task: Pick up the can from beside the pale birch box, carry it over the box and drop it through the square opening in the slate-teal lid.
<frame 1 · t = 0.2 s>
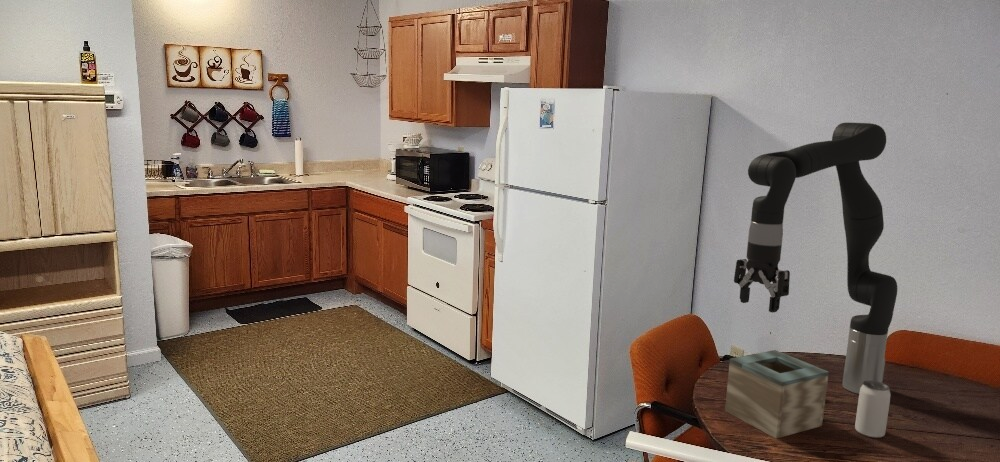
hand: (758, 307, 165), 29 cm above the table, fingers open, 8 cm apart
drop box: (772, 418, 171), on the table
can: (869, 432, 165), on the table
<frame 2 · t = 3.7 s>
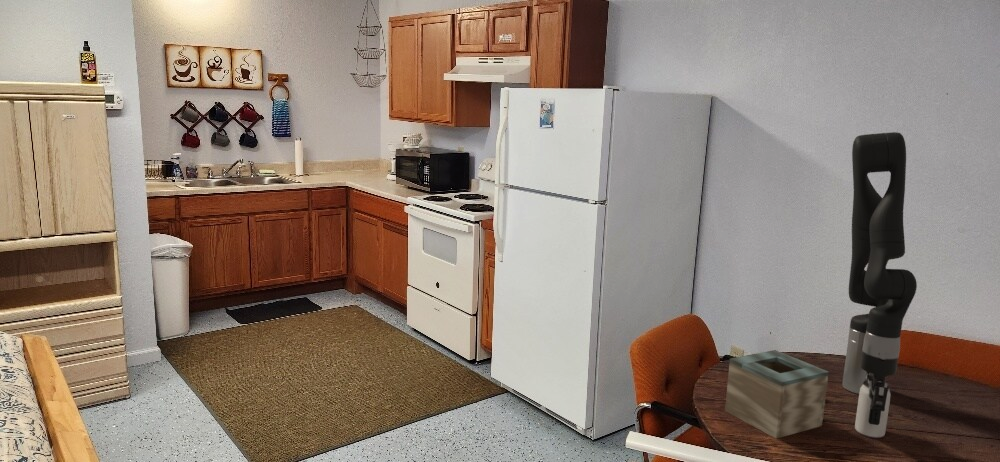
hand: (871, 417, 164), 4 cm above the table, fingers closed on can, 6 cm apart
can: (869, 432, 165), on the table, touching gripper
everything else where it was.
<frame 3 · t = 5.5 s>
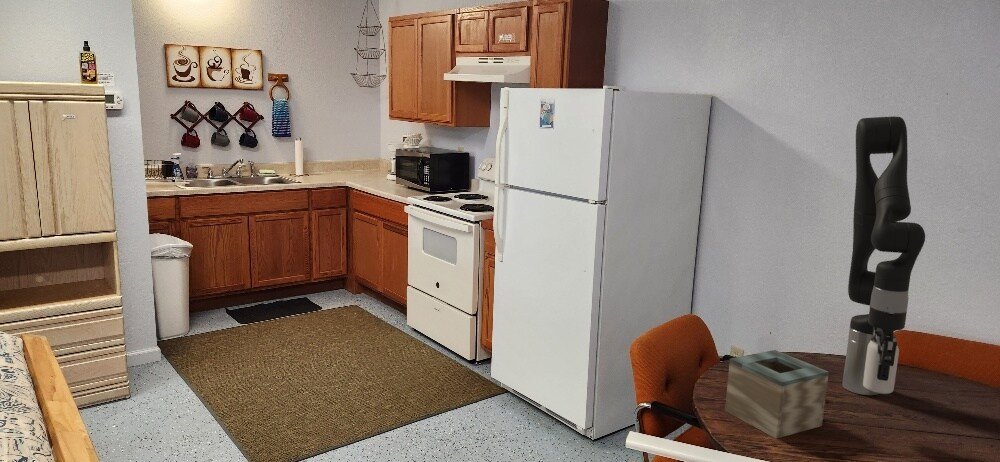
hand: (879, 373, 162), 15 cm above the table, fingers closed on can, 6 cm apart
can: (877, 389, 163), point 11 cm above the table, touching gripper
everything else where it was.
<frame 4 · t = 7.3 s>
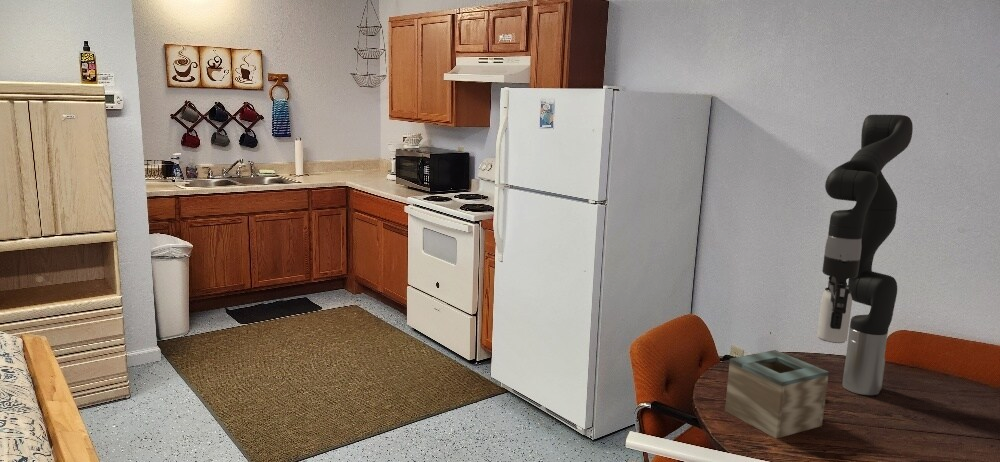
hand: (833, 324, 163), 26 cm above the table, fingers closed on can, 6 cm apart
can: (831, 339, 163), point 22 cm above the table, touching gripper
everything else where it was.
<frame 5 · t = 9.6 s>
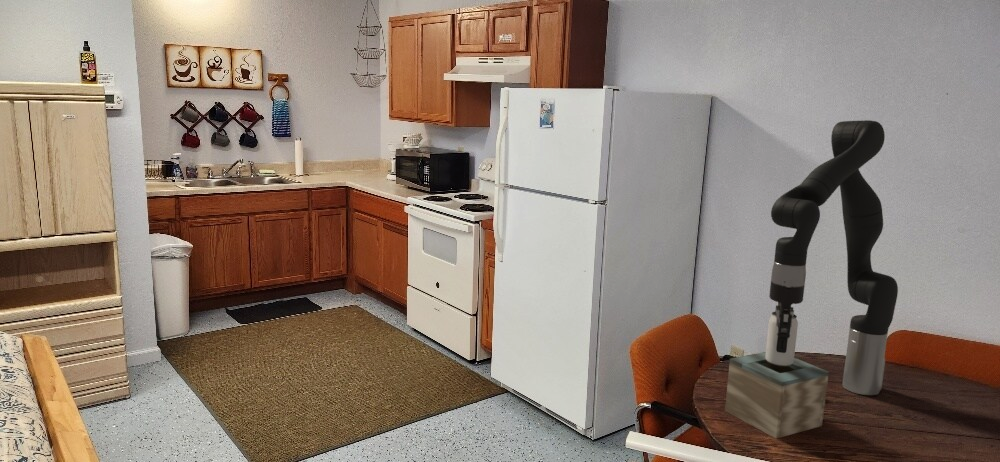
hand: (780, 347, 167), 19 cm above the table, fingers closed on can, 6 cm apart
can: (778, 362, 168), point 15 cm above the table, touching gripper
everything else where it was.
when the fingers open (17 cm above the table, at t = 11.1 s): can drops 11 cm, resting on drop box.
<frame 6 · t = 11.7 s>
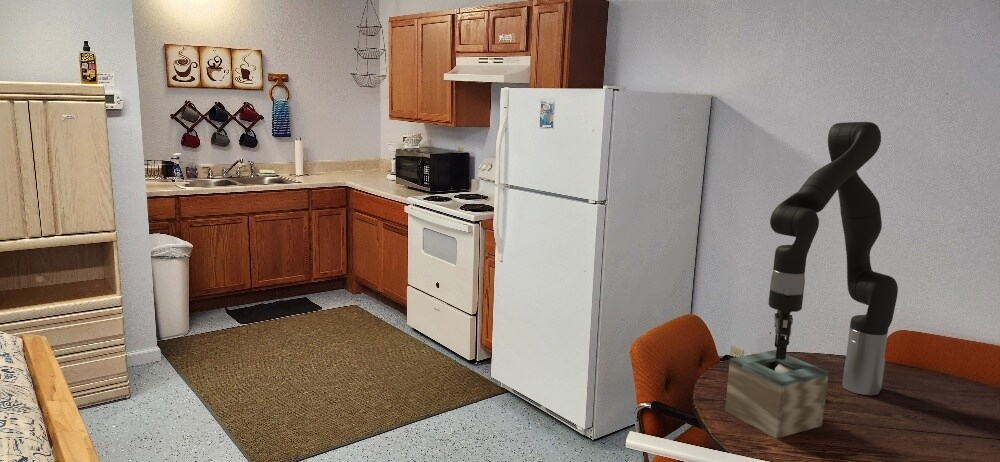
hand: (779, 353, 168), 17 cm above the table, fingers open, 8 cm apart
can: (774, 413, 171), point 1 cm above the table, touching drop box
everything else where it was.
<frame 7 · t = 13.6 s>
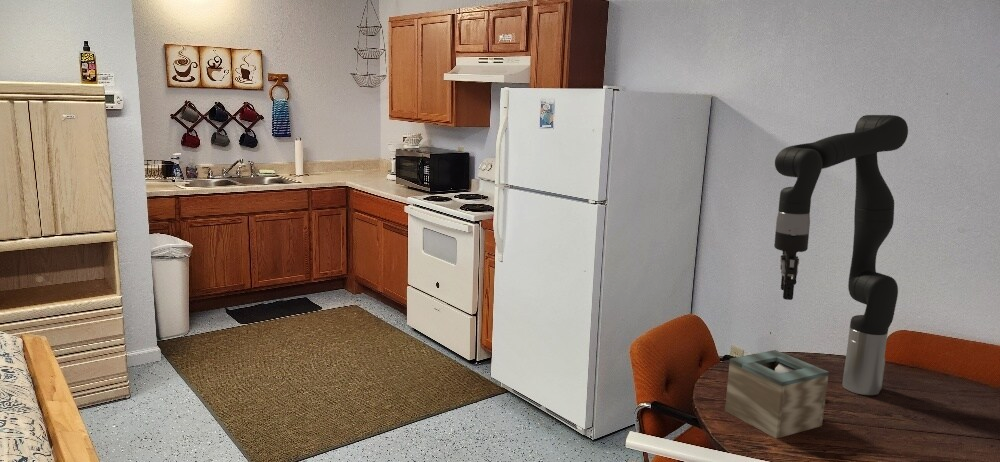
hand: (786, 294, 170), 31 cm above the table, fingers open, 8 cm apart
nothing on the table moved.
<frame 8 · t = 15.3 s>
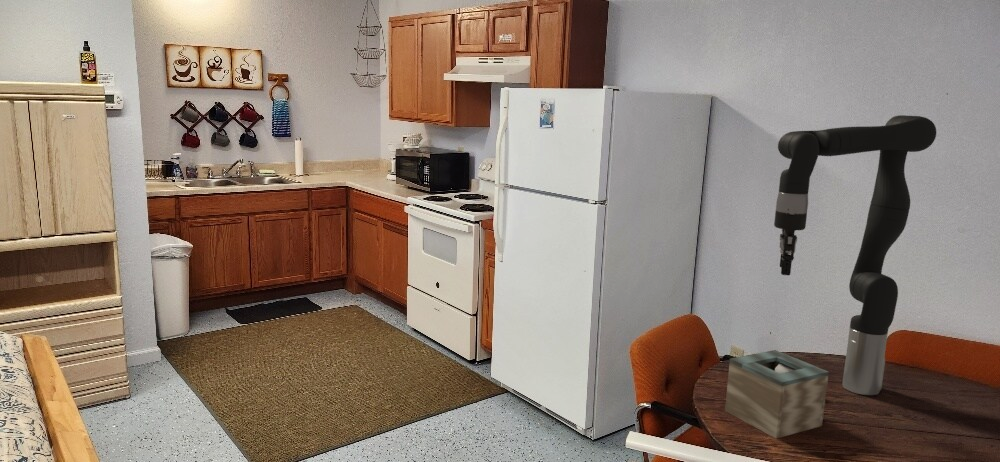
hand: (784, 271, 179), 34 cm above the table, fingers open, 8 cm apart
nothing on the table moved.
at the end: can inside the target area on the drop box (0.6 cm from its centre), point 1.2 cm above the drop box's base; the gripper is holding nothing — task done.
